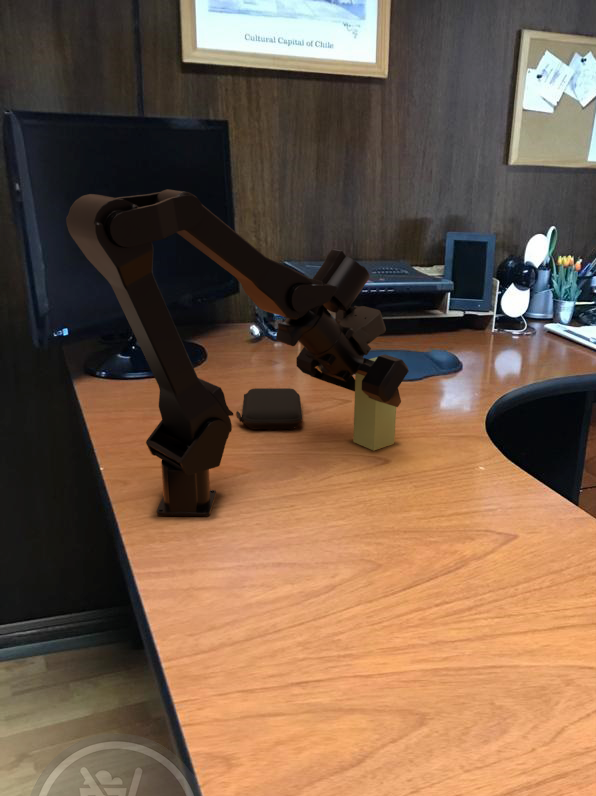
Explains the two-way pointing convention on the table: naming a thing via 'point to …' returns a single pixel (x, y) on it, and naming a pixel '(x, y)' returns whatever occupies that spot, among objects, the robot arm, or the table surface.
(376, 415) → the block
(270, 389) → the carrying case
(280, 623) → the table surface
